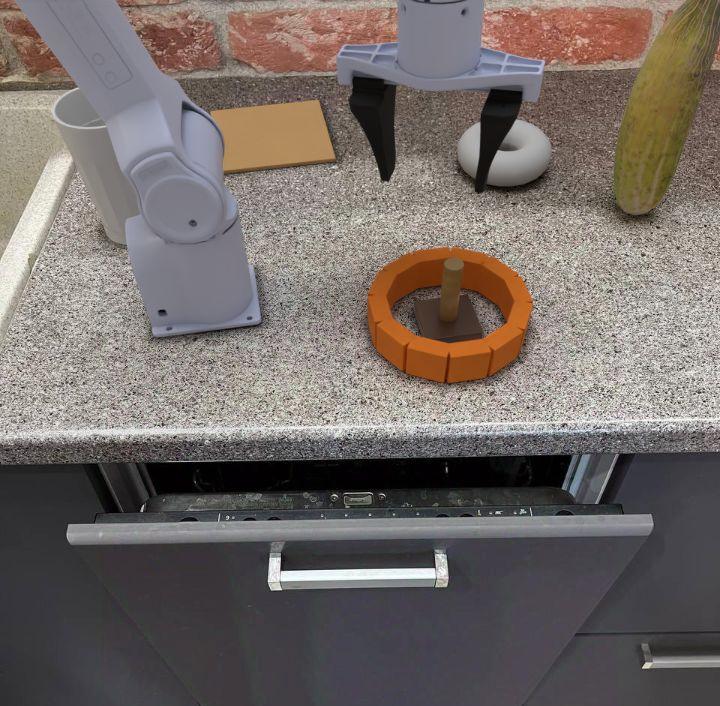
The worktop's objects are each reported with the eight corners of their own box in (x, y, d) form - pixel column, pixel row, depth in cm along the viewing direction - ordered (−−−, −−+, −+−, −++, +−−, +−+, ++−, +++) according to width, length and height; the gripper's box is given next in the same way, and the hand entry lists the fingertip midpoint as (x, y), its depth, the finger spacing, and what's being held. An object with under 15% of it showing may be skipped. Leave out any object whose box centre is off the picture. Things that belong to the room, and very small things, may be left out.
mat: (217, 174, 74) (216, 171, 74) (210, 114, 82) (210, 110, 81) (335, 161, 76) (335, 158, 75) (318, 102, 83) (318, 99, 82)
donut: (450, 189, 73) (546, 197, 71) (452, 157, 70) (553, 165, 68) (461, 139, 78) (550, 145, 77) (464, 108, 75) (557, 114, 74)
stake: (425, 348, 59) (431, 287, 54) (412, 309, 62) (416, 248, 56) (482, 340, 59) (493, 279, 54) (466, 302, 62) (475, 240, 57)
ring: (386, 392, 56) (387, 366, 54) (357, 284, 64) (356, 257, 61) (546, 369, 57) (554, 343, 55) (498, 266, 65) (503, 239, 62)
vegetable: (613, 233, 68) (690, 0, 51) (584, 197, 71) (647, -31, 55) (668, 221, 69) (761, -10, 52) (636, 187, 72) (714, -41, 56)
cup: (80, 236, 68) (31, 115, 59) (130, 194, 72) (93, 74, 63) (144, 259, 66) (104, 137, 56) (192, 215, 70) (163, 93, 60)
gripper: (563, -34, 45) (531, 162, 56) (352, -45, 48) (361, 143, 59) (548, 13, 41) (517, 213, 52) (320, -2, 44) (337, 190, 55)
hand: (433, 180), depth 56 cm, fingers open, 7 cm apart
